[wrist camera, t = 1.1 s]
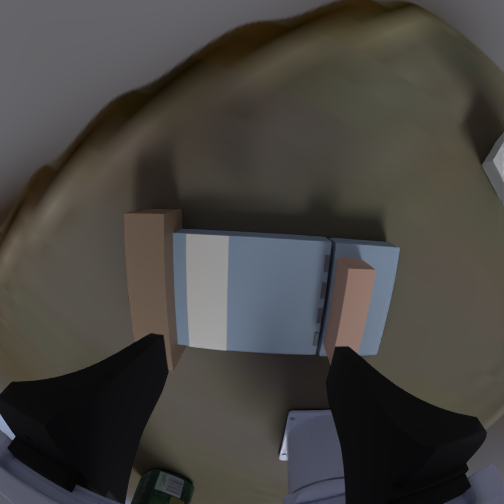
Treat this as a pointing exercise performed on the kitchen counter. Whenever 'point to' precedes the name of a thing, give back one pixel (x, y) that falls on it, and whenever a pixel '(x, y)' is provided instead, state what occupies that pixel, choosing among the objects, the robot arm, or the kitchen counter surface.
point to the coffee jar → (163, 489)
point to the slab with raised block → (357, 295)
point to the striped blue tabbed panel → (223, 286)
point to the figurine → (496, 167)
